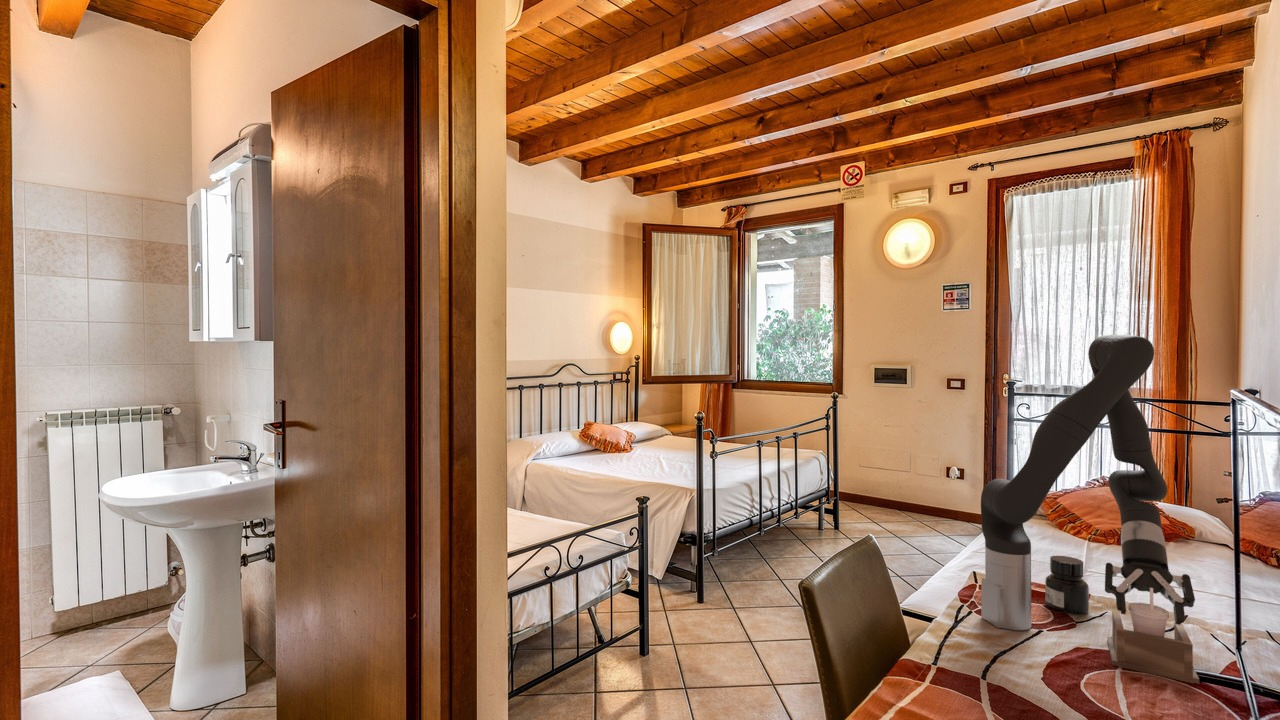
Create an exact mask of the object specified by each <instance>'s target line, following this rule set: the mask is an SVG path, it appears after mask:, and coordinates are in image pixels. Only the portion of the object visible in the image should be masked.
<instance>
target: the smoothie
mask: <svg viewBox="0 0 1280 720" xmlns="http://www.w3.org/2000/svg"><path fill="white" fill-rule="evenodd" d="M1128 611H1129V612H1130V616H1131V621H1132V629H1133V631H1135V632H1140V633H1145V634H1150V635H1156V636H1161V637H1165V633H1166V627H1167V620H1168V619H1170V613H1169V610H1167V609H1165V608H1163V607H1161V606H1158V605H1155V604H1154V593H1153V588H1150V592H1149V603H1144V602H1131V603H1129V604H1128Z"/></svg>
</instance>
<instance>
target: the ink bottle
mask: <svg viewBox="0 0 1280 720" xmlns="http://www.w3.org/2000/svg"><path fill="white" fill-rule="evenodd" d="M1049 559H1050V560H1049V562H1050V563H1049V565H1050V566H1049V569H1050V574H1049V575H1047V576H1046V577H1045V582H1044V583H1045V587H1044V588H1045V591H1044V592H1045V603H1046V605H1047V606H1048V607H1050V608H1051V609H1053V610H1056V611H1059V612H1063V613H1069V614H1076V615H1077V614H1078V615H1083V614H1087V613H1089V611H1090V610H1089V609H1090V606H1089V605H1090V602H1089V601H1090V595H1089V594H1090V591H1089V590H1090V589H1089V585H1088V583H1087V582H1086V581H1085V580H1084V579H1083V578H1084V561H1083V560H1081V559H1079V558H1076V557H1072V556H1066V555H1052V556H1050V558H1049Z"/></svg>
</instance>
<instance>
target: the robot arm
mask: <svg viewBox="0 0 1280 720" xmlns="http://www.w3.org/2000/svg"><path fill="white" fill-rule="evenodd" d="M1087 354H1088V360H1089V366H1090V368H1091V371H1092V373H1093V376H1094V377H1093V378H1092V379H1090V381H1089V382H1088V383H1087V384H1086V385H1084V386H1083V387H1081V388H1079V389H1078V390H1076V391H1075V392H1073V393H1072V394H1070V395H1068V396H1067V397H1065V398H1064V399H1062V400H1061V401H1059V402H1058V403H1057V404H1056V405H1055V406H1053V408H1052V409H1051V410H1050V411H1049V412H1048V414H1047V415H1046V416H1045V418H1044V419H1043V420H1042V422H1041V423H1040V424H1039V426H1038V427H1037V428H1036V431H1035V433H1034V436H1033V439H1032V444H1031V447H1030V451H1029V455H1028V457H1027V459H1026V462H1025V463H1024V465H1022V467H1021V469H1020V470H1019V471H1018V472H1017V473H1016V474H1015V476H1014V477H1013V478H1012V479H1011V480H1009V479H1006V478H995V479H992V480H990V481H988V482H987V483H986V484H985V486H984V487H983V489H982V491H981V495H980V517H981V531H982V535H983V537H984V538H983V539H984V543H985V544H984V548H985V549H984V550H985V551H984V553H985V557H984V558H985V559H984V565H985V567H984V568H985V570H984V571H985V574H984V575H985V577H982V578H981V580H980V582H981V583H980V584H981V585H980V586H981V587H980V588H981V590H980V591H981V592H980V593H981V594H980V595H981V597H980V598H981V602H980V603H981V610H980V611H981V612H980V614H981V616H980V617H981V619H983V620H985V621H987V622H989V624H991V625H992V626H994V627H996V628H998V629H1006V630H1011V631H1012V630H1013V631H1026V630H1027V631H1028V630H1030V629H1031V628H1032V542H1031V539H1030V538H1029V536H1028V535H1027V533H1026V530H1025V527H1024V523H1027V522H1028V521H1030V520H1031V519H1032V518H1033V517H1034V516H1035V515H1036V514H1037V512H1038V511H1039V509H1040V507H1041V506H1042V504H1043V502H1044V501H1045V499H1046V497H1047V496H1048V494H1049V492H1050V491H1051V489H1052V487H1053V486H1054V484H1055V482H1056V481H1057V480H1058V478H1059V477H1060V476H1061V475H1062V473H1063V472H1064V471H1065V469H1066V468H1067V467H1068V465H1069V464H1070V463H1071V461H1072V460H1073V459H1074V457H1075V456H1076V454H1078V452H1079V451H1080V450H1081V449H1082V447H1084V445H1085V444H1086V443H1087V441H1088V440H1089V439H1090V437H1091V436H1092V435H1093V434H1094V433H1095V430H1096V429H1097V428H1098V426H1099V425H1101V423H1102V421H1103V420H1104V419H1105V418H1106V416H1107V420H1108V424H1109V425H1108V426H1109V431H1110V437H1111V446H1112V452H1113V456H1114V458H1115V459H1116V460H1117V461H1119V462H1121V463H1126V464H1131V465H1136V466H1138V467H1140V468H1141V469H1143V470H1141V469H1139V470H1137V469H1136V470H1132V469H1131V470H1126V469H1124V470H1123V469H1122V470H1121V469H1120V470H1115V471H1113V472H1111V473H1110V475H1109V477H1108V480H1107V483H1108V487H1109V491H1110V492H1111V494H1112V496H1113V498H1114V500H1115V502H1116V504H1117V506H1118V509H1119V510H1118V511H1119V514H1120V524H1121V525H1120V526H1121V532H1120V546H1121V556H1122V557H1121V558H1122V566H1121V567H1120V566H1116V565H1113V564H1112V562H1106V563H1105V570H1104V572H1105V573H1104V592H1105V593H1107V594H1113V595H1114V596H1115V602H1116V610H1117V612H1120V615H1126V612H1127V607H1126V606H1127V605H1126V594H1128V593H1130V592H1131V591H1132V590H1134V589H1136V590H1137V591H1138V592H1149V593H1150V588H1153V594H1156V595H1157V594H1159V593H1160V595H1162V597H1164V598H1165V599H1166V600H1168V601H1169V602H1170V603H1171V605H1173V608H1172V609H1173V615H1174V617H1173V618H1174V623H1175V624H1178V625H1180V624H1182V623H1184V622H1185V619H1186V615H1185V607H1188V608H1193V607H1194V603H1195V602H1196V598H1195V593H1194V590H1193V589H1194V588H1193V585H1192V580H1191V576H1190V575H1189V574H1186V573H1185V574H1182V575H1174V574H1172V573H1171V572H1170V570H1169V564H1168V563H1169V562H1168V554H1167V547H1166V546H1167V545H1166V539H1165V537H1164V533H1163V528H1162V520H1161V519H1162V518H1161V514H1160V510H1159V509H1158V508H1157V506H1155V505H1153V504H1152V503H1149V502H1160V501H1162V500H1164V499H1165V498H1166V497H1167V494H1168V486H1167V485H1168V484H1167V482H1166V480H1165V478H1164V477H1163V475H1162V473H1161V471H1160V470H1159V467H1158V465H1157V463H1156V461H1155V458H1154V455H1153V449H1152V445H1151V444H1152V443H1151V436H1150V431H1149V427H1148V424H1147V421H1146V419H1145V417H1144V415H1143V413H1142V411H1141V410H1140V409H1139V407H1138V405H1137V403H1136V402H1135V400H1134V399H1133V397H1132V395H1131V392H1130V389H1131V388H1132V386H1133V385H1134V384H1135V383H1136V382H1137V381H1138V380H1139V379H1140V378H1141V377H1142V376H1144V374H1145V373H1146V372H1147V370H1149V368H1150V366H1151V365H1152V363H1153V360H1154V358H1155V357H1154V356H1155V348H1154V345H1153V344H1152V342H1151V340H1149V339H1147V338H1146V337H1143V336H1139V335H1132V334H1131V335H1129V334H1127V335H1126V334H1104V335H1100V336H1098V337H1097V338H1095V339H1094V340H1093V341H1092V342H1091V343H1090V346H1089V347H1088V353H1087ZM1118 574H1120V575H1121V576H1122V577H1123V578H1124V580H1123V581H1122V582H1121V583H1120V584H1119V585H1118V586H1115V585H1113V578H1115V577H1117V576H1118ZM1173 582H1174V583H1176V586H1178V587H1179V588H1181V590H1182V594H1183V597H1182V596H1180V594H1178V593H1177V592H1176V591H1175V588H1174V587H1173V586H1172V585H1171V584H1172V583H1173Z"/></svg>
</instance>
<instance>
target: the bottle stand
mask: <svg viewBox="0 0 1280 720" xmlns="http://www.w3.org/2000/svg"><path fill="white" fill-rule="evenodd" d="M1111 612H1112V613H1111V620H1112V621H1111V624H1112V625H1111V626H1112V629H1111V633H1112V634H1111V635H1112V636H1107V646H1108V650H1109V655H1110V659H1111V660H1110V661H1111V666H1114V667H1119V668H1124V669H1128V670H1133V671H1136V672H1142V673H1146V674H1150V675H1154V676H1159V677H1164V678H1168V679H1172V680H1177V681H1182V682H1186V683H1191V684H1194V683H1197V684H1196V685H1198V684H1199V685H1200V677H1199V676H1198V674H1197V671H1196V669H1195V667H1194V662H1193V661H1194V658H1193V657H1194V656H1193V653H1194V650H1193V649H1194V647H1193V643H1192V641H1191V639H1190V637H1189V635H1188V633H1187V631H1186V628H1185V627H1184V625H1183V624H1182V623H1181V624H1180V625H1178V624H1175V622H1174V624H1173V625H1174V626H1173V627H1174V634H1173V635H1174V638H1170V637H1165V636H1164V637H1161V636H1156V635H1150V634H1145V633H1140V632H1135V631H1134V630H1129V629H1125V628H1124V624H1123V621H1122V617H1121V612H1120V611H1114V610H1113V611H1111Z"/></svg>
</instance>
